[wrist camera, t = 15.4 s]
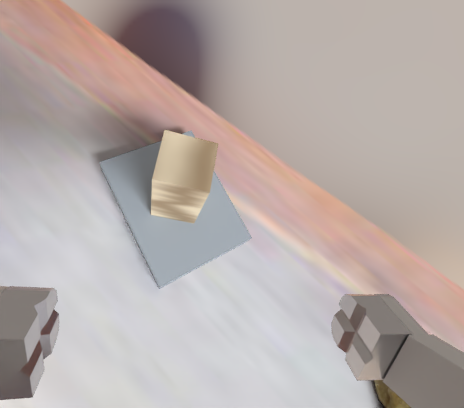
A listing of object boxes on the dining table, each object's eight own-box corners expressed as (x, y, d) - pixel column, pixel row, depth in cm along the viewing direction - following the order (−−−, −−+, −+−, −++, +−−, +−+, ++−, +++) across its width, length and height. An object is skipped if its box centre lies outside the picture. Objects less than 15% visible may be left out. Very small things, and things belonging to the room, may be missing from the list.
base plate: (102, 173, 38) (99, 162, 35) (188, 142, 42) (191, 130, 39) (159, 289, 35) (159, 287, 32) (244, 243, 39) (251, 237, 36)
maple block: (150, 214, 34) (151, 179, 25) (160, 176, 36) (164, 129, 27) (194, 223, 35) (210, 192, 26) (201, 185, 37) (218, 143, 28)
